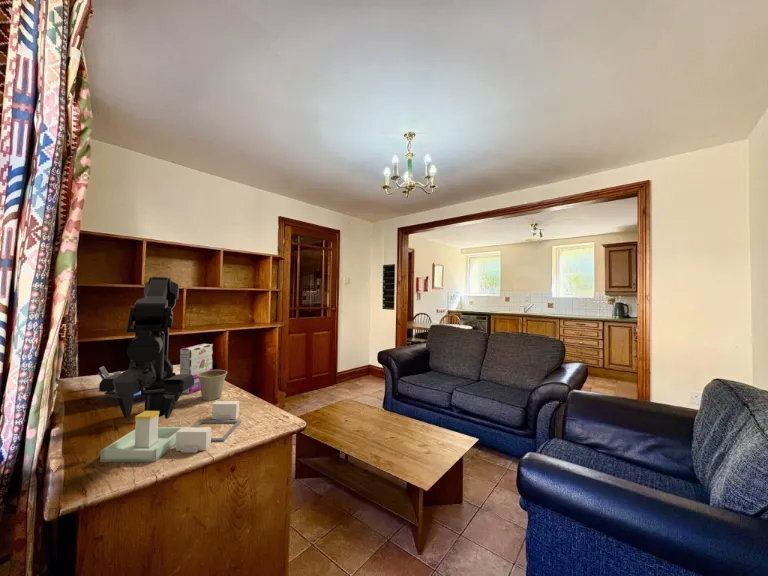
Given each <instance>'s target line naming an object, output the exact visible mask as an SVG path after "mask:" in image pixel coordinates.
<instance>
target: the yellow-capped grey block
mask: <svg viewBox="0 0 768 576" xmlns="http://www.w3.org/2000/svg"><path fill="white" fill-rule="evenodd" d="M134 420H135V428H134V430H135V447H134V449H150V448H151V447H152V446H154V445H155V444H156V443H158V427H159V411H143V412H141V413H139V414H137V415H135V416H134Z"/></svg>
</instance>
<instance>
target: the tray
mask: <svg viewBox="0 0 768 576" xmlns="http://www.w3.org/2000/svg"><path fill="white" fill-rule="evenodd" d="M182 427H183V426H158V443H156V444H155V445H154V446H152V447H151V448H150V449H134V447H135V429H133V430H132V431H129V432H128V433H127V434H125V435H124V436H122V437H120V438H118V439H117V440H115V441H114V442H112V443H111V444H109V445H108V446H106V447H104V448H102V449H101V450H100V457H99V458H100V459H99V462H100V463H120V462H121V463H122V462H123V463H128V462H129V463H131V462H132V463H134V462H135V463H136V462H137V463H138V462H139V463H141V462H145V463H146V462H147V463H148V462H155V463H156V462H157V461H158V460H160V458H162V457H163V456H164V455H165V454H166V453H168V452H170V450H171V449H172V448H174V447H176V432H177V431H178V430H179V429H181V428H182Z"/></svg>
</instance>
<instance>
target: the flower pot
mask: <svg viewBox="0 0 768 576" xmlns="http://www.w3.org/2000/svg"><path fill="white" fill-rule="evenodd" d="M227 374H228V371H227V370H224V369H212V370H210V371H204V372H201V373H199V374H197V377H198V378H199V381H200V387H201V390H200V393H201V399H202V400H203V401H213V400H218V399H220V398H221V397H222V396H223V390H224V386H225V379H226V377H227Z"/></svg>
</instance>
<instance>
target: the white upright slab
mask: <svg viewBox="0 0 768 576" xmlns="http://www.w3.org/2000/svg"><path fill="white" fill-rule="evenodd" d="M98 369H99V370H100V371H99V372H100V373H102V375H103V376H104V377H105V378H107V377H110V376H112V375H115V374H121V373H123V372H122V371H114V372H113V374H110V373H109V372H108V370H107V369H106V367H105V366H104V365H103V366H101V367H99V368H98Z"/></svg>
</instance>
